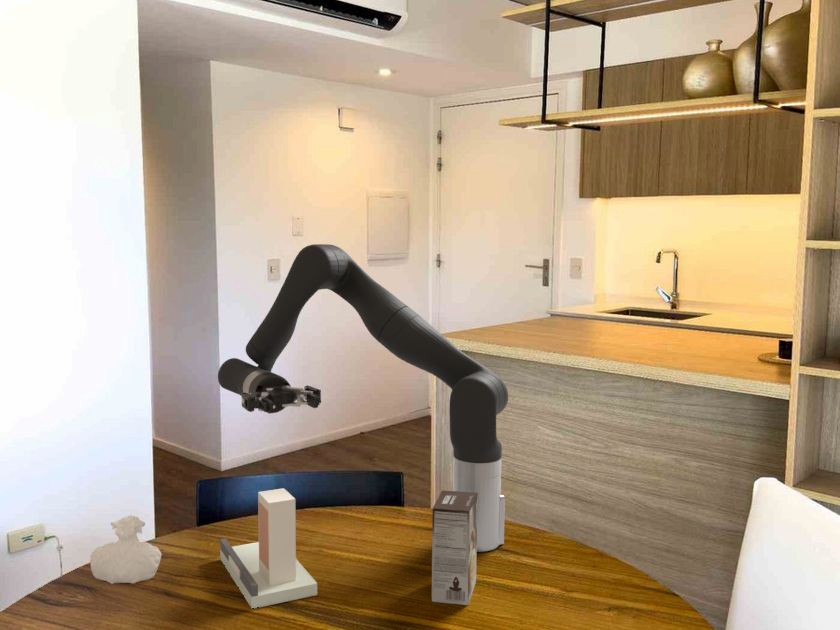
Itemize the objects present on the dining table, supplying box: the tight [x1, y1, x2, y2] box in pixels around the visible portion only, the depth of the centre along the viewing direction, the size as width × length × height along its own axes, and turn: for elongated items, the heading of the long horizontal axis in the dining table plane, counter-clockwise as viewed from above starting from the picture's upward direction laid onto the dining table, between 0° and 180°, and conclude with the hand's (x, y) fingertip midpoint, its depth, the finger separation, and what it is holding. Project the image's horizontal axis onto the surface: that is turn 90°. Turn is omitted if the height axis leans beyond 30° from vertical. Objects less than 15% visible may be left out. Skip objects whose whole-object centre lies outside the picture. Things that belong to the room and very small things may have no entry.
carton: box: [257, 487, 297, 586], centre depth 132 cm, size 5×6×14 cm
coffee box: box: [431, 490, 478, 606], centre depth 131 cm, size 9×6×16 cm
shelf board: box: [219, 538, 318, 609], centre depth 137 cm, size 11×21×4 cm, turn 27°
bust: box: [89, 514, 162, 585], centre depth 137 cm, size 12×8×11 cm
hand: (294, 405), depth 143 cm, fingers open, 8 cm apart
